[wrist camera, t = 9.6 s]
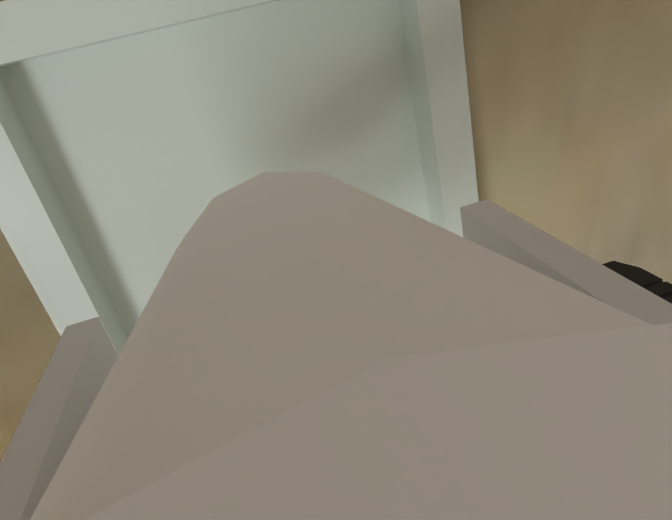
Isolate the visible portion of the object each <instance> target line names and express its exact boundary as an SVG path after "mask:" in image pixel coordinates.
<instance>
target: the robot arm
mask: <svg viewBox="0 0 672 520" xmlns="http://www.w3.org/2000/svg"><path fill="white" fill-rule="evenodd" d="M460 212H461V221H462V230H463V237H464V238H466V239H468V240H470V241H472V242H474V243H476V244H479V245H481V246H483V247H485V248H487V249H489V250H492V251H494V252H496V253H498V254H500V255H502V256H505V257H507V258H509V259H511V260H513V261H515V262H517V263H520V264H522V265H524V266H526V267H528V268H530V269H533V270H535V271H537V272H539V273H541V274H543V275H545V276H548V277H550V278H552V279H554V280H556V281H558V282H561V283H563V284H565V285H567V286H569V287H571V288H574V289H576V290H578V291H580V292H582V293H584V294H586V295H589V296H591V297H593V298H595V299H597V300H599V301H602V302H604V303H606V304H608V305H610V306H612V307H615V308H617V309H619V310H621V311H623V312H625V313H627V314H630V315H632V316H634V317H636V318H638V319H640V320H643V321H645V322H647V323H649V324H651V325H660V324H668V323H672V284H670V283H668V282H663V281H662V279H661V278H659V277H657V276H655V275H653V274H651V273H649V272H647V271H645V270H643V269H642V268H639V267H635V266H631V265H627V264H623V263H619V262H616V261H611V262H608V263H605V264H600V263H599V262H597V261H595V260H593V259H592V258H590V257H588V256H586V255H584V254H583V253H581V252H579V251H577V250H576V249H574V248H572V247H570V246H569V245H567V244H565V243H563V242H561V241H560V240H558V239H556V238H554V237H553V236H551V235H549V234H547V233H546V232H544V231H542V230H540V229H538V228H537V227H535V226H533V225H531V224H530V223H528V222H526V221H524V220H523V219H521V218H519V217H517V216H515V215H514V214H512V213H510V212H508V211H507V210H505V209H503V208H501V207H500V206H498V205H496V204H494V203H492V202H491V201H489V200H487V199H486V200H482V201H479V202H476V203H472V204H469V205H466V206H462V207H460ZM118 356H119V355H118V353H117V351H116V350H115V348H114V346H113V344H112V342H111V340H110V338H109V336H108V334H107V332H106V330H105V328H104V326H103V324H102V322H101V320H100V318H99V316H98V317H95V318H92V319H89V320H85V321H82V322H79V323H75V324H72V325H69V326H66V328H65V330H64V332H63V334H62V336H61V338H60V340H59V342H58V344H57V346H56V348H55V350H54V352H53V355H52V357H51V359H50V361H49V363H48V365H47V367H46V369H45V371H44V373H43V375H42V377H41V379H40V381H39V383H38V385H37V387H36V389H35V392H34V394H33V396H32V398H31V400H30V402H29V404H28V406H27V408H26V410H25V412H24V414H23V416H22V418H21V420H20V422H19V424H18V427H17V429H16V431H15V433H14V435H13V437H12V439H11V441H10V443H9V445H8V447H7V449H6V451H5V453H4V455H3V457H2V459H1V462H0V520H30V519H31V517H32V515H33V513H34V511H35V510H36V508H37V506H38V504H39V502H40V500H41V498H42V497H43V495H44V493H45V491H46V489H47V487H48V486H49V484H50V482H51V480H52V478H53V476H54V474H55V473H56V471H57V469H58V467H59V465H60V463H61V461H62V460H63V458H64V456H65V454H66V452H67V450H68V449H69V447H70V445H71V443H72V441H73V439H74V437H75V436H76V434H77V432H78V430H79V428H80V426H81V424H82V423H83V421H84V419H85V417H86V415H87V413H88V412H89V410H90V408H91V406H92V404H93V402H94V400H95V399H96V397H97V395H98V393H99V391H100V389H101V387H102V386H103V384H104V382H105V380H106V378H107V376H108V375H109V373H110V371H111V369H112V367H113V365H114V363H115V362H116V360H117V358H118Z"/></svg>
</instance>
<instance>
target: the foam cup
mask: <svg viewBox="0 0 672 520" xmlns="http://www.w3.org/2000/svg"><path fill="white" fill-rule="evenodd" d="M30 520H672V323H668V324H660V325H651V324H649V323H647V322H645V321H643V320H640V319H638V318H636V317H634V316H632V315H630V314H627V313H625V312H623V311H621V310H619V309H617V308H615V307H612V306H610V305H608V304H606V303H604V302H602V301H599V300H597V299H595V298H593V297H591V296H589V295H586V294H584V293H582V292H580V291H578V290H576V289H574V288H571V287H569V286H567V285H565V284H563V283H561V282H558V281H556V280H554V279H552V278H550V277H548V276H545V275H543V274H541V273H539V272H537V271H535V270H533V269H530V268H528V267H526V266H524V265H522V264H520V263H517V262H515V261H513V260H511V259H509V258H507V257H505V256H502V255H500V254H498V253H496V252H494V251H492V250H489V249H487V248H485V247H483V246H481V245H479V244H476V243H474V242H472V241H470V240H468V239H466V238H464V237H461V236H459V235H457V234H455V233H453V232H451V231H448V230H446V229H444V228H442V227H440V226H438V225H435V224H433V223H431V222H429V221H427V220H425V219H423V218H420V217H418V216H416V215H414V214H412V213H410V212H407V211H405V210H403V209H401V208H399V207H397V206H394V205H392V204H390V203H388V202H386V201H384V200H382V199H379V198H377V197H375V196H373V195H371V194H369V193H366V192H364V191H362V190H360V189H357V188H355V187H353V186H351V185H349V184H346V183H344V182H342V181H340V180H338V179H335V178H333V177H331V176H329V175H327V174H324V173H321V172H319V171H316V170H313V171H284V172H262V173H260V174H258V175H256V176H254V177H252V178H250V179H248V180H246V181H244V182H243V183H241V184H239V185H237V186H235V187H233V188H231V189H229V190H227V191H225V192H223V193H221V194H219V195H217V196H215V197H213V199H212V200H211V201H210V203H209V204H208V205H207V207H206V208H205V210H204V211H203V212H202V214H201V215H200V216H199V218H198V219H197V220H196V222H195V223H194V224H193V226H192V227H191V228H190V230H189V231H188V232H187V234H186V235H185V237H184V238H183V239H182V242H181V243H180V244H179V246H178V247H177V249H176V251H175V252H174V254H173V256H172V258H171V260H170V262H169V264H168V265H167V267H166V269H165V271H164V273H163V275H162V276H161V278H160V280H159V282H158V284H157V286H156V288H155V289H154V291H153V293H152V295H151V297H150V299H149V301H148V302H147V304H146V306H145V308H144V310H143V312H142V313H141V315H140V317H139V319H138V321H137V323H136V325H135V326H134V328H133V330H132V332H131V334H130V336H129V338H128V339H127V341H126V343H125V345H124V347H123V349H122V350H121V352H120V354H119V356H118V358H117V360H116V362H115V363H114V365H113V367H112V369H111V371H110V373H109V375H108V376H107V378H106V380H105V382H104V384H103V386H102V387H101V389H100V391H99V393H98V395H97V397H96V399H95V400H94V402H93V404H92V406H91V408H90V410H89V412H88V413H87V415H86V417H85V419H84V421H83V423H82V424H81V426H80V428H79V430H78V432H77V434H76V436H75V437H74V439H73V441H72V443H71V445H70V447H69V449H68V450H67V452H66V454H65V456H64V458H63V460H62V461H61V463H60V465H59V467H58V469H57V471H56V473H55V474H54V476H53V478H52V480H51V482H50V484H49V486H48V487H47V489H46V491H45V493H44V495H43V497H42V498H41V500H40V502H39V504H38V506H37V508H36V510H35V511H34V513H33V515H32V517H31V519H30Z"/></svg>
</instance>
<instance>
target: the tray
mask: <svg viewBox="0 0 672 520" xmlns="http://www.w3.org/2000/svg"><path fill="white" fill-rule="evenodd" d="M313 170H316V171H319V172H321V173H324V174H327V175H329V176H331V177H333V178H335V179H338V180H340V181H342V182H344V183H346V184H349V185H351V186H353V187H355V188H357V189H360V190H362V191H364V192H366V193H369V194H371V195H373V196H375V197H377V198H379V199H382V200H384V201H386V202H388V203H390V204H392V205H394V206H397V207H399V208H401V209H403V210H405V211H407V212H410V213H412V214H414V215H416V216H418V217H420V218H423V219H425V220H427V221H429V222H431V223H433V224H435V225H438V226H440V227H442V228H444V229H446V230H448V231H451V232H453V233H455V234H457V235H459V236H461V237H463V230H462V221H461V212H460V207H462V206H466V205H469V204H472V203H476V202H479V199H478V189H477V178H476V168H475V157H474V146H473V136H472V125H471V115H470V104H469V94H468V83H467V72H466V62H465V51H464V41H463V30H462V19H461V9H460V0H5V1H0V229H1V231H2V233H3V234H4V236H5V238H6V240H7V242H8V243H9V245H10V247H11V249H12V250H13V252H14V254H15V256H16V258H17V259H18V261H19V263H20V265H21V267H22V268H23V270H24V272H25V274H26V275H27V277H28V279H29V281H30V283H31V284H32V286H33V288H34V290H35V291H36V293H37V295H38V297H39V299H40V300H41V302H42V304H43V306H44V308H45V309H46V311H47V313H48V315H49V316H50V318H51V320H52V322H53V324H54V325H55V327H56V329H57V331H58V333H59V334H60V336H62V334H63V332H64V330H65V328H66V326H69V325H72V324H75V323H79V322H82V321H85V320H89V319H92V318H95V317H98V316H99V318H100V320H101V322H102V324H103V326H104V328H105V330H106V332H107V334H108V336H109V338H110V340H111V342H112V344H113V346H114V348H115V350H116V351H117V353H118V355H119V354H120V352H121V350H122V349H123V347H124V345H125V343H126V341H127V339H128V338H129V336H130V334H131V332H132V330H133V328H134V326H135V325H136V323H137V321H138V319H139V317H140V315H141V313H142V312H143V310H144V308H145V306H146V304H147V302H148V301H149V299H150V297H151V295H152V293H153V291H154V289H155V288H156V286H157V284H158V282H159V280H160V278H161V276H162V275H163V273H164V271H165V269H166V267H167V265H168V264H169V262H170V260H171V258H172V256H173V254H174V252H175V251H176V249H177V247H178V246H179V244H180V243H181V242H182V239H183V238H184V237H185V235H186V234H187V232H188V231H189V230H190V228H191V227H192V226H193V224H194V223H195V222H196V220H197V219H198V218H199V216H200V215H201V214H202V212H203V211H204V210H205V208H206V207H207V205H208V204H209V203H210V201H211V200H212V199H213V197H215V196H217V195H219V194H221V193H223V192H225V191H227V190H229V189H231V188H233V187H235V186H237V185H239V184H241V183H243V182H244V181H246V180H248V179H250V178H252V177H254V176H256V175H258V174H260V173H262V172H284V171H313Z"/></svg>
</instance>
